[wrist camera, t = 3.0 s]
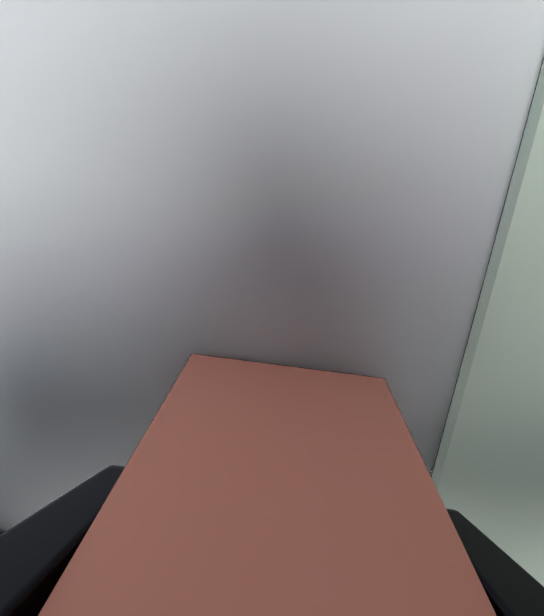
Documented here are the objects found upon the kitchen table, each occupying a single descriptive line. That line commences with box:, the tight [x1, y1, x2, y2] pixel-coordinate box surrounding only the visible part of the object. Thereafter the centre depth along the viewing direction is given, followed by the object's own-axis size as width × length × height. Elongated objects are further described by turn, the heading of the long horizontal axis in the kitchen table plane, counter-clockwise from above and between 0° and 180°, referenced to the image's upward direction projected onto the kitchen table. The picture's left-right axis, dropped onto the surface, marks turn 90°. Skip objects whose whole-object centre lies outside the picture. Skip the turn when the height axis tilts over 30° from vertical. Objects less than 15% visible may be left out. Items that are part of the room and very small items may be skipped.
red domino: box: [38, 354, 497, 616], centre depth 6 cm, size 2×5×10 cm, turn 83°
